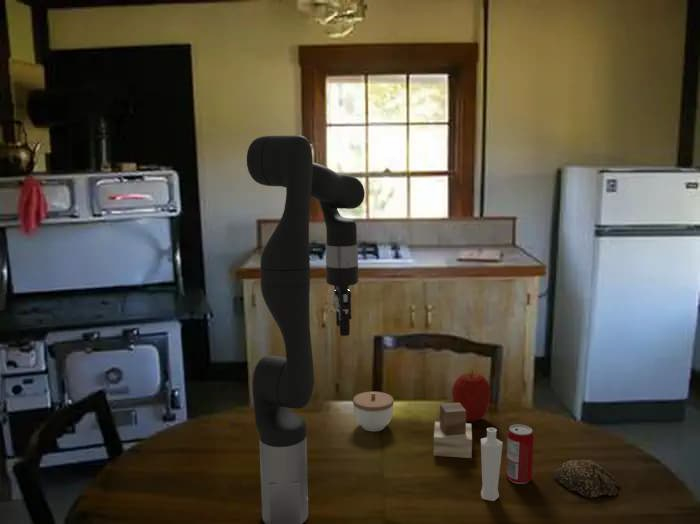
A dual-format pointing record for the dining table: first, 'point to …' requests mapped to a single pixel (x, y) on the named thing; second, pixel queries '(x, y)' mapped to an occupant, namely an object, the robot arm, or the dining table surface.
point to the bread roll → (586, 478)
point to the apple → (472, 395)
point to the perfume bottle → (490, 464)
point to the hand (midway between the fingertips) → (342, 330)
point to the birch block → (453, 443)
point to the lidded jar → (373, 410)
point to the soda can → (519, 454)
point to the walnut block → (452, 419)
